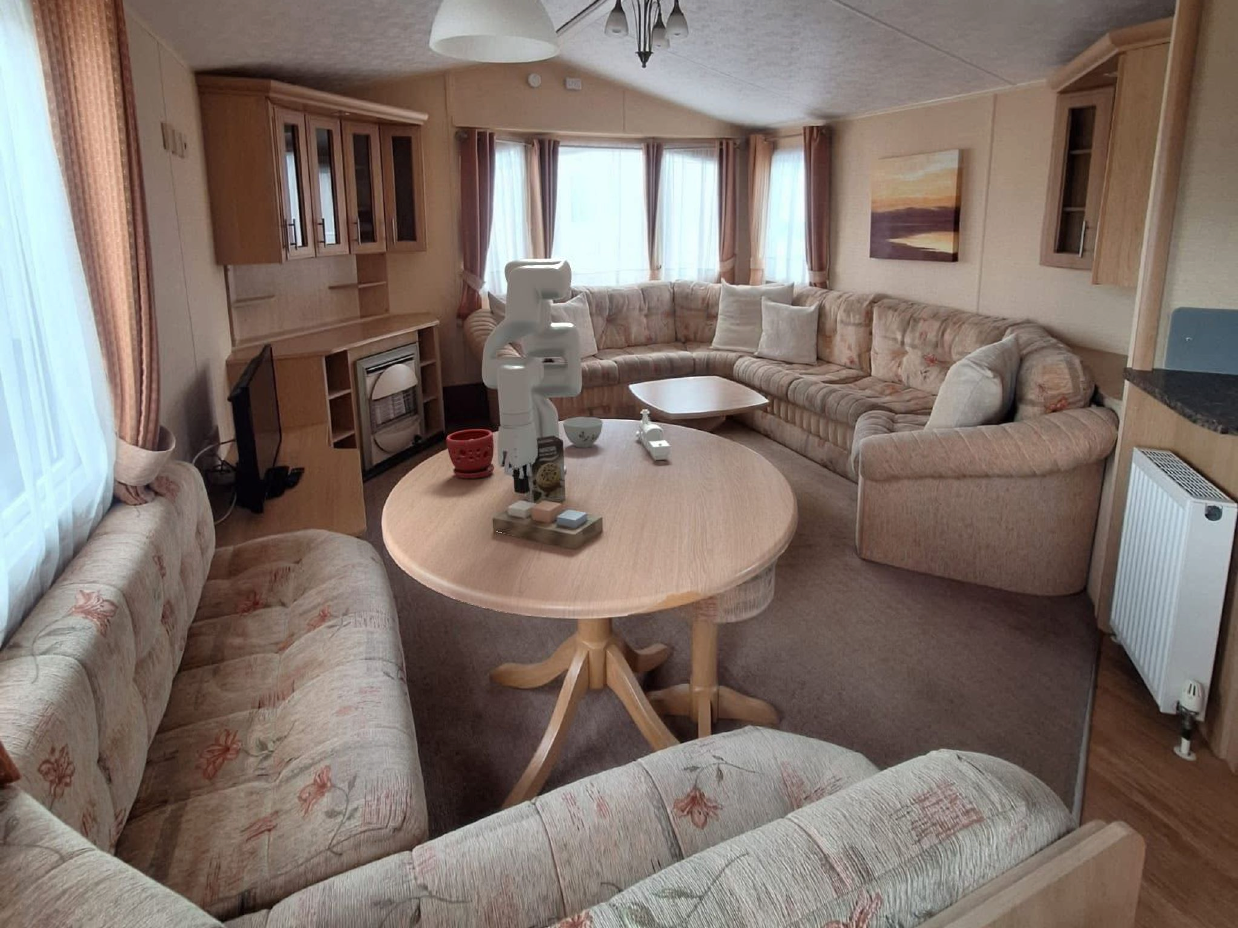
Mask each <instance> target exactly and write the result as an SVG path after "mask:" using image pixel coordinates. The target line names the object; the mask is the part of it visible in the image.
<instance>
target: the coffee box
mask: <svg viewBox="0 0 1238 928" xmlns="http://www.w3.org/2000/svg"><path fill="white" fill-rule="evenodd" d="M537 446H538V455H537V458H536V459H535V462H534V463H533V464H532V465H531V467H530V474H529V476H528V480H529V492H527V493H526V494H524V495H525V499H526V501H527V502H531V503H536V504H538V503H540V502H542V501H549V502H554V503H555V502H558V501H563V500H564V501H565V500H566V499H567V498H566V495H567V494H566V479H565V478H566V477H565V476H566V472H564V465H565V453H564V452H565V451H564V440H562V439H561V438H560V437H559V438H557V437H555V436H548V437H541V438H537Z"/></svg>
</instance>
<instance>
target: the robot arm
mask: <svg viewBox="0 0 1238 928" xmlns="http://www.w3.org/2000/svg"><path fill="white" fill-rule="evenodd" d="M503 273H504V279H505V282H506V283H507V285H506V299H505V313H504V319H503V320H501V321H500V322H499V324H497V325H496V326H495V328H494V329H493V330H492V331H491V332H490V334H489V335H488V337H487V339H486V340H485V343H484V345H483V350H482V351H483V353H482V363H481V377H482V381H483V383H484V385H485V386H486V387H487V388H489V389H492V390H497V394H498V395H497V396H498V406H499V407H498V409H499V421H500V426H498V433H497V464H498V466H499V467H500V468H504V470H503V471H504V472H503V473H504V475H507V476H511V477H512V479H513V489H514V490H513V491H514V492H515V493H516V494H517V493H518V494H521V495H523V494H524V495H525V494H526V493H527V492H529V480H528V476H529V474H530V467H531V465H532V464H533V463H534V462H535V459H536V458H537V455H538V446H537V438H541V437H548V436H555V437H557V438H559V439H560V432H559V431H560V430H559V414H558V409H557V407H556V406H555V404H554V403H553V402H552V401H551V400H550V399H549V398H571V397H572V398H574V397H577V396H579V394H580V393H581V391H582V386H583V375H582V356H581V355H582V352H581V339H580V338H581V337H580V333H579V330H578V328H577V326H576V325H574V324H573V323H569V322H553V321H552V306H551V303H550V300H552V301H553V300H558V301H559V300H562V299H564V298H565V297H566V296H567V293H568V291H569V289H570V288H571V285H572V284H571V283H572V276H573V274H572V268H571V265H570V264H569V262H568V261H567V260H566V259H564V258H531V259H530V258H529V259H528V258H527V259H517V260H512V261H509V262H508V263H506V265H505V266H504V272H503ZM520 339H521V340H520ZM517 340H520V341H521V348H522V352H523V354H524V356H498V354H499V353H500V351H501V350H502V349H503V348H504V347H506V346H507V345H508V344H510V343H512V342H514V341H517ZM540 359H561V360H563V362H541V360H540ZM564 472H565V473H566V472H567V466H566V465H565V464H564Z"/></svg>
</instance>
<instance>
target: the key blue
mask: <svg viewBox="0 0 1238 928" xmlns="http://www.w3.org/2000/svg"><path fill="white" fill-rule="evenodd" d="M566 510H567V511H565V512H564V513H562V514H560V515H559V516H557V525H562V526H567V527H572V528H577V527H579V526H580V525H582V524H583V523H585V522H587V514H588V513H587V512H584V511H579V510H573V509H566Z"/></svg>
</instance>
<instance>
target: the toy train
mask: <svg viewBox="0 0 1238 928" xmlns="http://www.w3.org/2000/svg"><path fill="white" fill-rule="evenodd" d="M650 413H651V411H649V409H642V410H641V411H640V414H642V419H641V420H640V421H639V422H638V429H639V430H637V431H636V432H635V436H636V440H638V441H640V442H641V444H642V445H643V446H644V448H646V450H647V452H648V453H650V456H651V457H652V458H653V461H658V460H668V459H669V458H668V456H670V455H671V444H669V443H668V442H667V441H666V439H663V434H664V433H665V431H664V430H663V429H662V427H660V426H659V424H658V425H657V424H654V423H653V421H651V420H650V418H649V414H650Z"/></svg>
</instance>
